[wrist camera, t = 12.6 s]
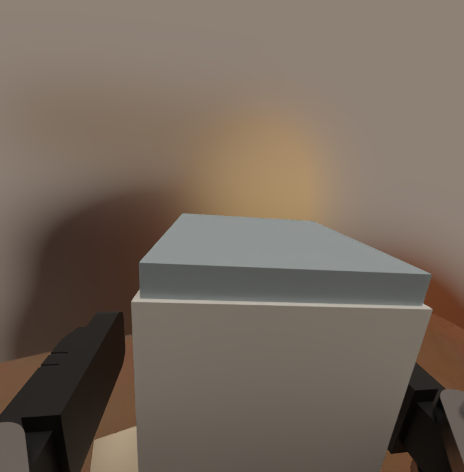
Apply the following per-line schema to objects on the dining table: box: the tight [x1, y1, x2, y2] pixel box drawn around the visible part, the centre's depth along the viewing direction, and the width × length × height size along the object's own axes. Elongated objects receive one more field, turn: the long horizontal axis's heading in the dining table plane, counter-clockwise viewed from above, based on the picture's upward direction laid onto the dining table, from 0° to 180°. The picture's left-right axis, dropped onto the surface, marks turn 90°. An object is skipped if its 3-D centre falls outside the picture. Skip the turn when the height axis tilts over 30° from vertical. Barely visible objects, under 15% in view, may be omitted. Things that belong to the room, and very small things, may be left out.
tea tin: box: [131, 214, 432, 472], centre depth 7 cm, size 5×5×12 cm
